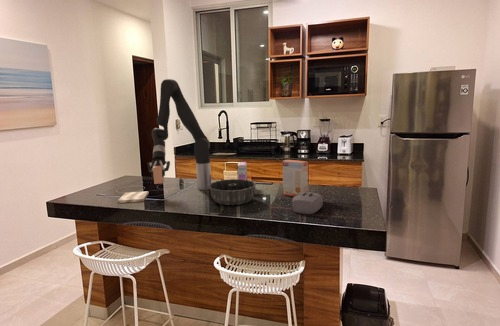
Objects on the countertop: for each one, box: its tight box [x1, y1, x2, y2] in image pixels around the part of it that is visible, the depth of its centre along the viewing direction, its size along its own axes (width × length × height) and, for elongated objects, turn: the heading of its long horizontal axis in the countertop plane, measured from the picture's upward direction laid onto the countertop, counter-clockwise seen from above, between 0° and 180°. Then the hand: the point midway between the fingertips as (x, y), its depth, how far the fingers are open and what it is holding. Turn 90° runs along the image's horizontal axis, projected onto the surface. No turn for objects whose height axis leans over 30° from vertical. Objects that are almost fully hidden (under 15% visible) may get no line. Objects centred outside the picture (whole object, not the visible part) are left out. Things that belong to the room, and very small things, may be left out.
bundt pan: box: [209, 178, 257, 206], centre depth 179 cm, size 26×26×10 cm
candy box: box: [236, 161, 248, 180], centre depth 208 cm, size 14×6×16 cm, turn 179°
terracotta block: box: [152, 166, 165, 185], centre depth 191 cm, size 5×5×10 cm
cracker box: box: [282, 159, 309, 198], centre depth 186 cm, size 14×6×21 cm, turn 47°
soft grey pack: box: [291, 191, 324, 215], centre depth 163 cm, size 15×8×20 cm
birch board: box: [117, 190, 149, 204], centre depth 191 cm, size 14×18×2 cm
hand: (158, 176), depth 189 cm, fingers closed on terracotta block, 5 cm apart
